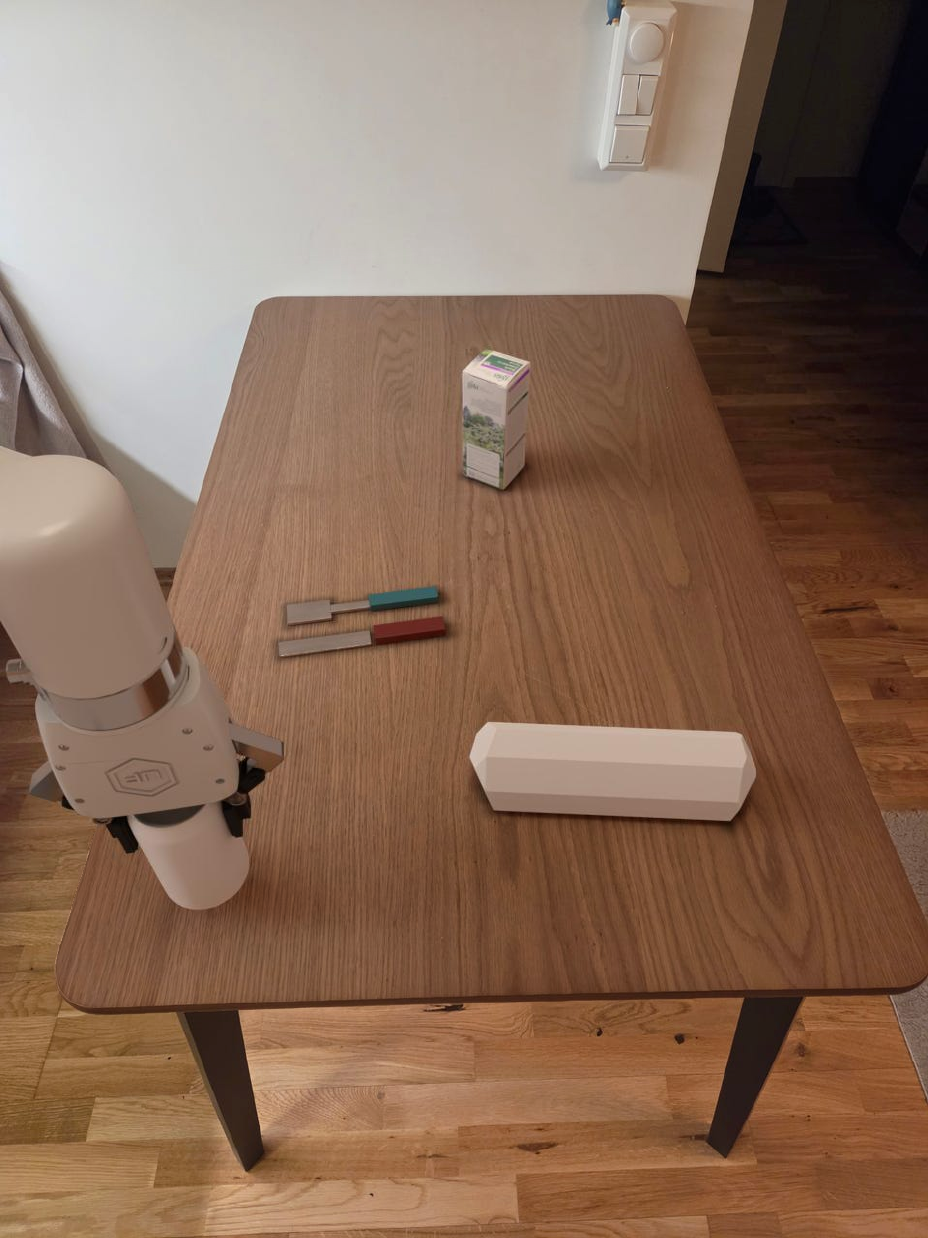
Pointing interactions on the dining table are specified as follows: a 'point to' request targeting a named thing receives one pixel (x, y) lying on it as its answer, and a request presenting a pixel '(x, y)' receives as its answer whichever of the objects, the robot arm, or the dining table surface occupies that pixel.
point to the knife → (366, 637)
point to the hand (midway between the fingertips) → (186, 825)
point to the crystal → (613, 770)
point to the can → (193, 853)
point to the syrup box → (495, 417)
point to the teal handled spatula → (359, 605)
